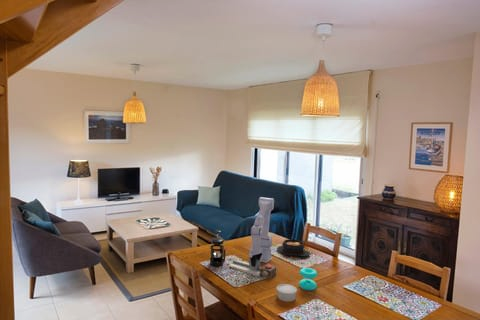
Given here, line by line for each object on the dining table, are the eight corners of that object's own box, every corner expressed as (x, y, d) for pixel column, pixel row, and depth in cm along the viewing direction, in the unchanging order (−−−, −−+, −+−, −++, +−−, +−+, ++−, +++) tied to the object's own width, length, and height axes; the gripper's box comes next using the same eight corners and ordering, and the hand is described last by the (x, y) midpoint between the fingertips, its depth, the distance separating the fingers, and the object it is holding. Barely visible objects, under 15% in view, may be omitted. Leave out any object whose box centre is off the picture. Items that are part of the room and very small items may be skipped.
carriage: (252, 266, 213) (252, 258, 213) (260, 268, 210) (260, 260, 210) (249, 268, 210) (249, 260, 210) (257, 270, 207) (257, 262, 206)
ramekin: (282, 290, 186) (283, 281, 185) (300, 297, 179) (300, 288, 178) (271, 297, 177) (272, 288, 177) (289, 305, 170) (290, 295, 170)
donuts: (312, 266, 196) (320, 273, 187) (311, 282, 197) (319, 290, 188) (297, 267, 194) (304, 274, 184) (296, 284, 195) (303, 292, 185)
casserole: (272, 252, 245) (272, 241, 244) (283, 246, 260) (284, 235, 259) (303, 261, 231) (304, 249, 230) (313, 253, 246) (314, 242, 245)
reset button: (266, 271, 208) (267, 264, 207) (272, 273, 206) (272, 265, 205) (263, 273, 204) (264, 266, 204) (269, 275, 202) (269, 267, 202)
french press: (205, 264, 218) (206, 230, 216) (214, 260, 226) (215, 227, 224) (219, 269, 211) (221, 234, 209) (228, 264, 219) (229, 230, 217)
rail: (237, 262, 223) (237, 258, 223) (266, 270, 211) (266, 266, 211) (229, 267, 215) (229, 262, 214) (258, 276, 203) (258, 271, 203)
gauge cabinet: (266, 271, 210) (266, 264, 210) (275, 274, 206) (276, 266, 206) (259, 276, 203) (260, 268, 203) (269, 279, 200) (270, 271, 199)
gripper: (256, 240, 217) (255, 260, 218) (244, 246, 205) (243, 267, 206) (265, 242, 213) (264, 262, 214) (254, 248, 201) (253, 270, 202)
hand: (255, 265), depth 210 cm, fingers closed on carriage, 4 cm apart
